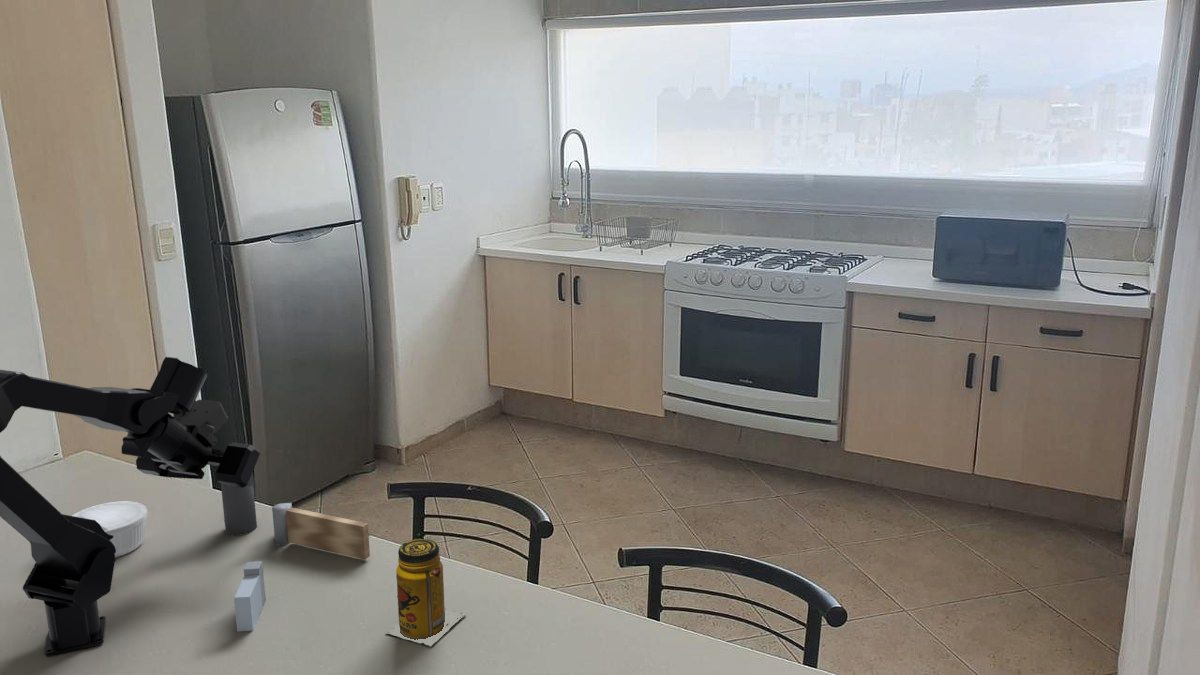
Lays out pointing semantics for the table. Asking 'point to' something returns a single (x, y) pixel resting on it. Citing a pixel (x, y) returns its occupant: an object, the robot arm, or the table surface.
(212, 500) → the table surface
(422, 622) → the condiment
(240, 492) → the gray cylinder
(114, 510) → the ramekin
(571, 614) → the table surface
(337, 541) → the door
